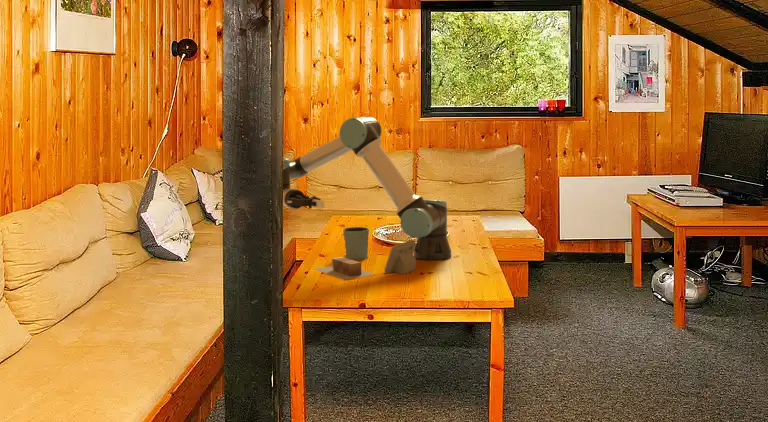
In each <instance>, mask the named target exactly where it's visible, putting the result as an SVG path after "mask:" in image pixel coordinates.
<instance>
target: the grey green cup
mask: <svg viewBox="0 0 768 422" xmlns="http://www.w3.org/2000/svg"><path fill="white" fill-rule="evenodd" d="M342 232H343V238H344V249H345V258H347V259H351V260H354V261H359V260H361V261H362V260H366V259H368V257H369V254H368V253H369V252H368V251H369V248H368V247H369V235H370V233H369V232H370V228H368V227H365V226H364V227H363V226H351V227H346V228H343V231H342Z"/></svg>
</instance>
